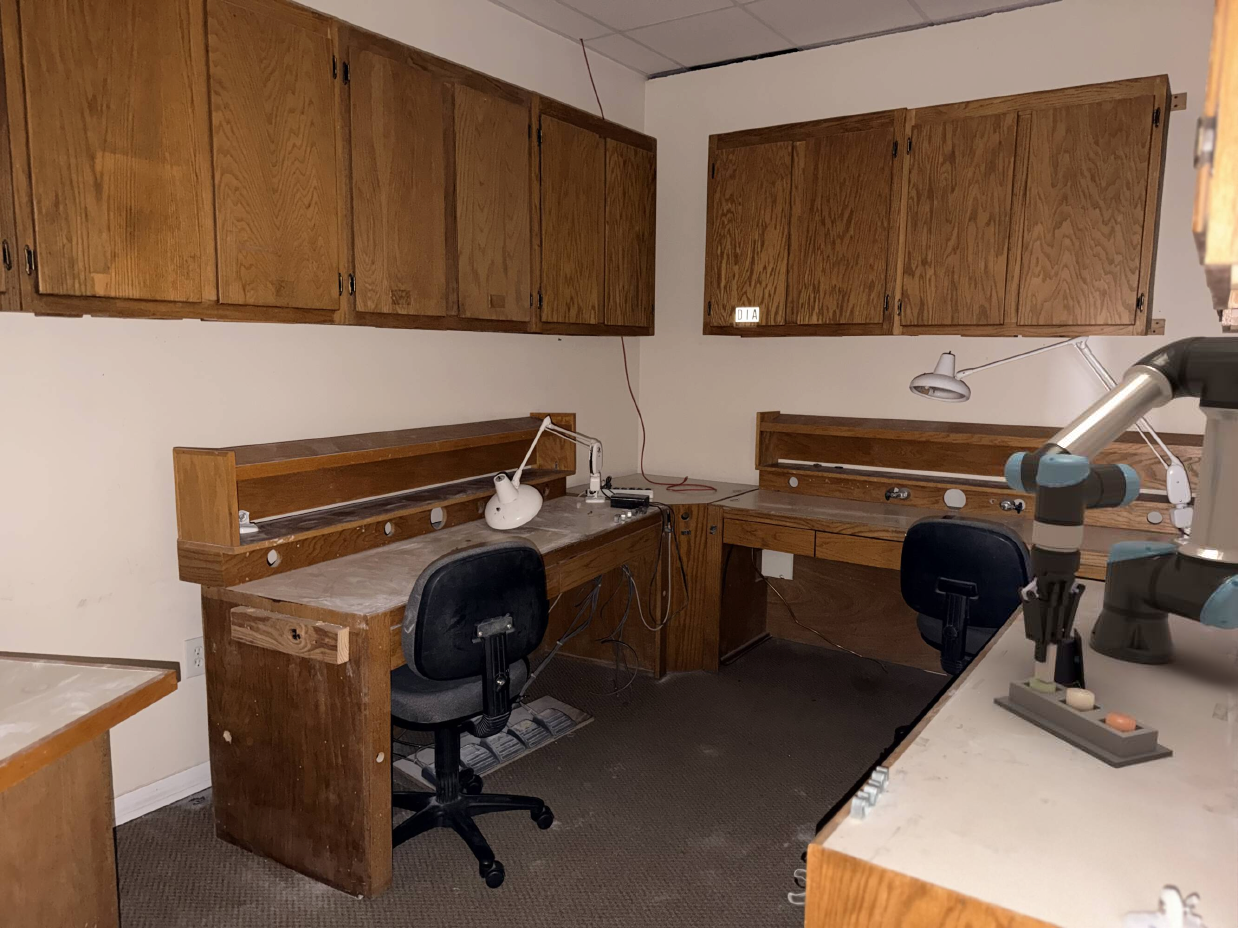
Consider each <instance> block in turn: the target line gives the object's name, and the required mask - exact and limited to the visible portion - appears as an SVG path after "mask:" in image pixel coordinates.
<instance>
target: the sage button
mask: <svg viewBox="0 0 1238 928" xmlns="http://www.w3.org/2000/svg"><path fill="white" fill-rule="evenodd" d="M1030 678H1031V679H1030V686H1029V687H1031V688H1033V689H1035V690H1037V691H1039V692H1041V693H1043V694H1044V693H1050V692H1055V688H1056V683H1055V682H1054V681H1052V682H1045V681H1043V680H1041V679H1039V678H1037V677H1034V676H1032V677H1030Z"/></svg>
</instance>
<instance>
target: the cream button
mask: <svg viewBox="0 0 1238 928" xmlns="http://www.w3.org/2000/svg"><path fill="white" fill-rule="evenodd" d="M1094 701H1095V694H1094V692H1092V691H1090V690H1087V689H1085V690H1084V689H1081V687H1080V688H1079V687H1078V688H1077V687H1068V689H1067V695H1066V705H1067V706H1069V707H1071V708H1073V709H1076V710H1078V711H1080V712H1085V711H1090V710H1093V706H1094Z"/></svg>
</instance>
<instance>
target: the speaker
mask: <svg viewBox="0 0 1238 928" xmlns="http://www.w3.org/2000/svg"><path fill="white" fill-rule="evenodd" d="M1062 641H1065V644H1064V645H1063V646H1061V645H1059V646H1058V657H1057V660H1056V661H1055V671H1054V682H1056V683H1058V684H1060V685H1062V686H1068V685H1069V686H1070V685H1073V684H1076V683H1078V685H1079V687H1080V689H1084V690H1086V684H1085V681H1086V680H1085V671H1084V670H1085V667H1084V655H1083V654H1084V653H1083V640H1082V636H1081V635H1080V633H1079V630H1078V629H1077V628H1075V627H1073V635H1070V637H1069V638H1068V639H1063V640H1062Z"/></svg>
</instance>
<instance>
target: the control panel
mask: <svg viewBox="0 0 1238 928" xmlns="http://www.w3.org/2000/svg"><path fill="white" fill-rule="evenodd" d="M1031 678H1032V677H1030V678H1025V679H1017V680H1011V681H1010V682H1009V691H1008V695H1005V696H1000V697H994V698H993V703H994V704H996V705H997V706H1000V707H1001V708H1003V709H1005V710H1007V711H1008V712H1011V713H1013V714H1014V715H1016V716H1017V717H1018V716H1019V717H1020V718H1022V719H1024V720H1026V721H1027V722H1029V723H1031V724H1033V725H1035V726H1037V727H1039V728H1040V729H1042V730H1044V731H1046V732H1048V733H1050V734H1052V735H1054V736H1055V737H1057V738H1059V739H1061V740H1062V741H1065V742H1066V743H1067V744H1070V745H1072V746H1074V747H1076V748H1077V749H1079V750H1081V751H1083V752H1084V753H1087V754H1088V755H1090V756H1092V757H1094V758H1096V759H1097V760H1100V761H1102V762H1104V763H1106V764H1107V765H1110V766H1111V767H1113V768H1115V769H1118V768H1121V767H1125V766H1130V765H1134V764H1140V763H1143V762H1148V761H1149V762H1150V761H1153V760H1158V759H1162V758H1167V757H1170V756H1171V757H1172V756H1173V752H1174V750H1172V749H1170V748H1168V747H1166V746H1164V745H1162V744H1160V743H1159V742H1158V738H1159V737H1158V736H1159V730H1158V729H1156V728H1153V727H1152V726H1150V725H1148V724H1146V723H1143V722H1141V721H1139V720H1136V719H1135V720H1136V726H1135V730H1134V731H1129V732H1124V733H1123V732H1120V731H1118V730H1116V729H1114V728H1112V727H1110V726H1108V725H1106V724H1105V723H1106V715H1107V714H1108V713H1120V714H1123V713H1122V712H1120V711H1118V710H1116V709H1113V708H1111V707H1109V706H1107V705H1105V704H1102V703H1100V702H1098V701H1097V700H1094V706H1093V710H1090V711H1085V712H1080V711H1078V710H1076V709H1073V708H1071V707H1069V706H1067V705H1066V695H1067V689H1069V687H1066V686H1065V685H1060V684H1058V683H1056V682H1055V683H1056V688H1055V692H1050V693H1044V694H1043V693H1041V692H1039V691H1037V690H1035V689H1033V688H1031V687H1029V686H1030V679H1031Z"/></svg>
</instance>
